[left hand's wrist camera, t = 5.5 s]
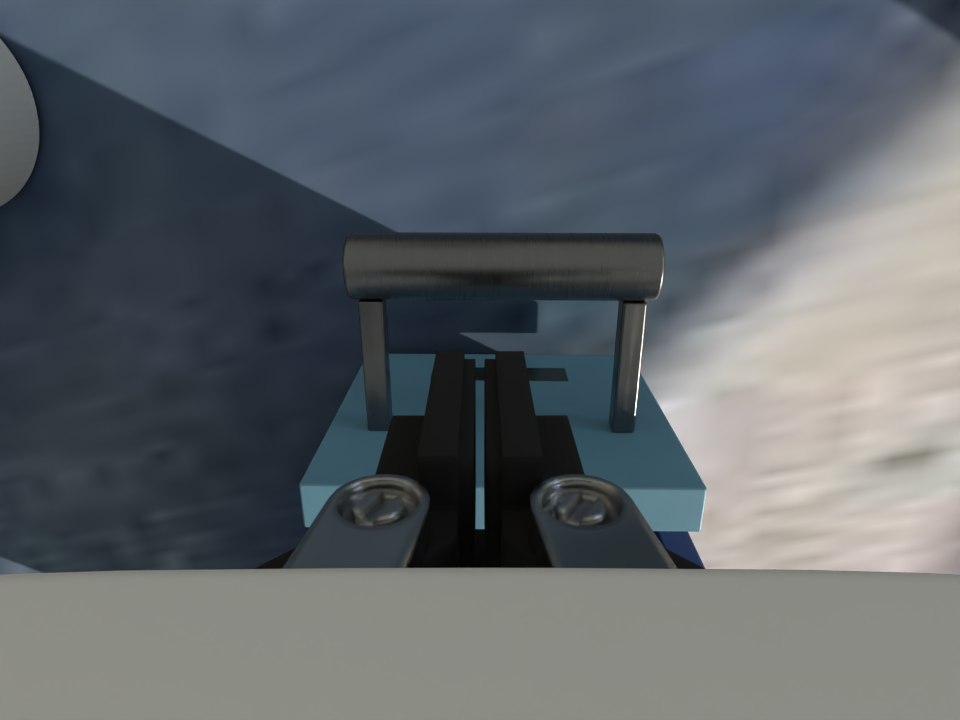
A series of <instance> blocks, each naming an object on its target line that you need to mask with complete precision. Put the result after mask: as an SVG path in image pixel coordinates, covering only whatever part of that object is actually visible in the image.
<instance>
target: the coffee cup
mask: <svg viewBox="0 0 960 720" xmlns="http://www.w3.org/2000/svg"><path fill="white" fill-rule="evenodd" d="M38 147H39V122H38V115H37V109H36V105H35V101H34V98H33V95H32V92H31V89H30V86H29V84H28V82H27V79H26V77H25V75H24V73H23V71H22V69H21V67H20V66H19V64H18V62H17V61H16V59H15V58H14V56H13V55H12V53H11V52H10V50H9V49H8V48H7V46H6V45H5V44H4V43H3V41H2V40H1V39H0V206H2V205H4V204H5V203H7V202H8V201H10V200H11V199H12V198H13V197H14V196H15V195H16V194H17V193H18V192H19V191H20V190H21V189H22V188H23V186H24V185H25V183H26V182H27V180H28V178H29V177H30V175H31V173H32V170H33V168H34V165H35V162H36V158H37V153H38Z"/></svg>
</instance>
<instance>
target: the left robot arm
mask: <svg viewBox="0 0 960 720" xmlns="http://www.w3.org/2000/svg"><path fill="white" fill-rule="evenodd" d="M475 528H476V361H475V359H465V353H464V351H436V356H435V361H434V366H433V372H432V377H431V383H430V388H429V393H428V399H427V404H426V410H425V415H393V417H392V419H391V422H390V426H389V429H388V433H387V436H386V439H385V443H384V446H383V450H382V453H381V457H380V460H379V463H378V467H377V470H376V474H375V475H371V476H365V477H361V478H358V479H355V480H352V481H350V482H348V483H346V484H344V485H343V486H341V487H339V488H338V489H336V491H335V492H334V493H333V494H332V495H331V496H330V497H329V498H328V500H327V501H326V503H325V504H324V506H323V507H322V509H321V510H320V512H319V513H318V515H317V516H316V518H315V520H314V521H313V523H312V524H311V526H310V527H309V529H308V530H307V532H306V533H305V535H304V536H303V538H302V539H301V541H300V542H299V544H298V545H297V547H296V548H295V549H293V550H291V551H289V552H287V553H285V554H283V555H281V556H279V557H277V558H275V559H273V560H271V561H269V562H267V563H265V564H263V565H261V566H259V567H257V568H255V569H219V570H127V571H93V572H61V573H28V574H8V575H0V720H960V575H950V574H934V573H901V572H864V571H827V570H746V569H705V568H703V567H701V566H699V565H697V564H695V563H693V562H691V561H689V560H687V559H685V558H683V557H681V556H679V555H677V554H675V553H673V552H671V551H669V550H667V549H665V548H664V547H663V545H662V544H661V542H660V541H659V539H658V538H657V536H656V535H655V533H654V532H653V530H652V529H651V527H650V526H649V524H648V523H647V521H646V520H645V518H644V516H643V515H642V513H641V512H640V510H639V509H638V507H637V506H636V504H635V503H634V501H633V500H632V498H631V497H630V496H629V495H628V494H627V493H626V492H625V491H624V489H622V488H621V487H619V486H617V485H616V484H614V483H612V482H610V481H608V480H605V479H602V478H599V477H595V476H589V475H585V474H584V470H583V467H582V463H581V460H580V457H579V453H578V450H577V446H576V443H575V439H574V436H573V433H572V429H571V426H570V422H569V419H568V417H567V415H535V410H534V404H533V399H532V393H531V388H530V383H529V377H528V372H527V366H526V361H525V356H524V351H496V353H495V359H485V361H484V528H485V568H475Z"/></svg>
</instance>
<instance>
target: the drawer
mask: <svg viewBox="0 0 960 720" xmlns="http://www.w3.org/2000/svg"><path fill="white" fill-rule="evenodd" d="M664 273H665V252H664V246H663V242H662V239H661V237H660V236H659V235H658V234H655V233H395V232H352V233H350V234H348V235H347V237H346V240H345V244H344V249H343V276H344V283H345V287H346V290H347V293H348V295H349V297H350V298H352V299H360V300H359V302H358V306H359V319H360V333H361V346H362V360H363V364H362V366H361V368H360V370H359V372H358V374H357V375H356V377H355V379H354V381H353V383H352V385H351V387H350V389H349V391H348V393H347V394H346V396H345V398H344V400H343V402H342V404H341V406H340V408H339V410H338V412H337V414H336V415H335V417H334V419H333V421H332V423H331V425H330V427H329V429H328V431H327V433H326V434H325V436H324V438H323V440H322V442H321V444H320V446H319V448H318V450H317V452H316V454H315V455H314V457H313V459H312V461H311V463H310V465H309V467H308V469H307V471H306V473H305V475H304V476H303V478H302V480H301V482H300V484H299V488H300V496H301V504H302V512H303V520H304V526H305V527H310V526H311V524H312V523H313V521H314V520H315V518H316V516H317V515H318V513H319V512H320V510H321V509H322V507H323V506H324V504H325V503H326V501H327V500H328V498H329V497H330V496H331V495H332V494H333V493H334V492H335V491H336V489H338V488H339V487H341V486H343V485H344V484H346V483H348V482H350V481H352V480H355V479H358V478H361V477H365V476H371V475H375V474H376V470H377V467H378V463H379V460H380V457H381V453H382V450H383V446H384V443H385V439H386V436H387V433H388V429H389V426H390V422H391V419H392V417H393V415H425V410H426V404H427V399H428V393H429V388H430V383H431V377H432V372H433V366H434V361H435V356H436V354H389V346H388V328H387V311H386V299H410V300H605V301H619V307H618V319H617V331H616V343H615V354H614V355H524V356H525V361H526V366H527V372H528V377H529V383H530V388H531V393H532V399H533V404H534V410H535V415H567V417H568V419H569V422H570V426H571V429H572V433H573V436H574V439H575V443H576V446H577V450H578V453H579V457H580V460H581V463H582V467H583V470H584V474H585V475H589V476H595V477H599V478H602V479H605V480H608V481H610V482H612V483H614V484H616V485H617V486H619V487H621V488H622V489H624V491H625V492H626V493H627V494H628V495H629V496H630V497H631V498H632V500H633V501H634V503H635V504H636V506H637V507H638V509H639V510H640V512H641V513H642V515H643V516H644V518H645V520H646V521H647V523H648V524H649V526H650V527H651V529H652V530H653V531H691V532H699V531H700V530H701V524H702V517H703V511H704V505H705V498H706V492H707V488H706V486H705V485H704V483H703V481H702V479H701V478H700V476H699V474H698V472H697V471H696V469H695V467H694V465H693V464H692V462H691V460H690V458H689V457H688V455H687V453H686V452H685V450H684V448H683V446H682V445H681V443H680V441H679V439H678V438H677V436H676V434H675V432H674V431H673V429H672V427H671V425H670V424H669V422H668V420H667V418H666V417H665V415H664V413H663V411H662V410H661V408H660V406H659V405H658V403H657V401H656V399H655V398H654V396H653V394H652V392H651V391H650V389H649V387H648V385H647V384H646V382H645V380H644V378H643V377H642V375H641V373H640V370H641V361H642V351H643V341H644V331H645V321H646V311H647V303H646V302H645V301H653V300H655V299H657V298H658V296H659V294H660V291H661V289H662V285H663V280H664ZM465 359H475V361H476V528H475V568H485V528H484V361H485V359H495V354H465Z"/></svg>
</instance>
